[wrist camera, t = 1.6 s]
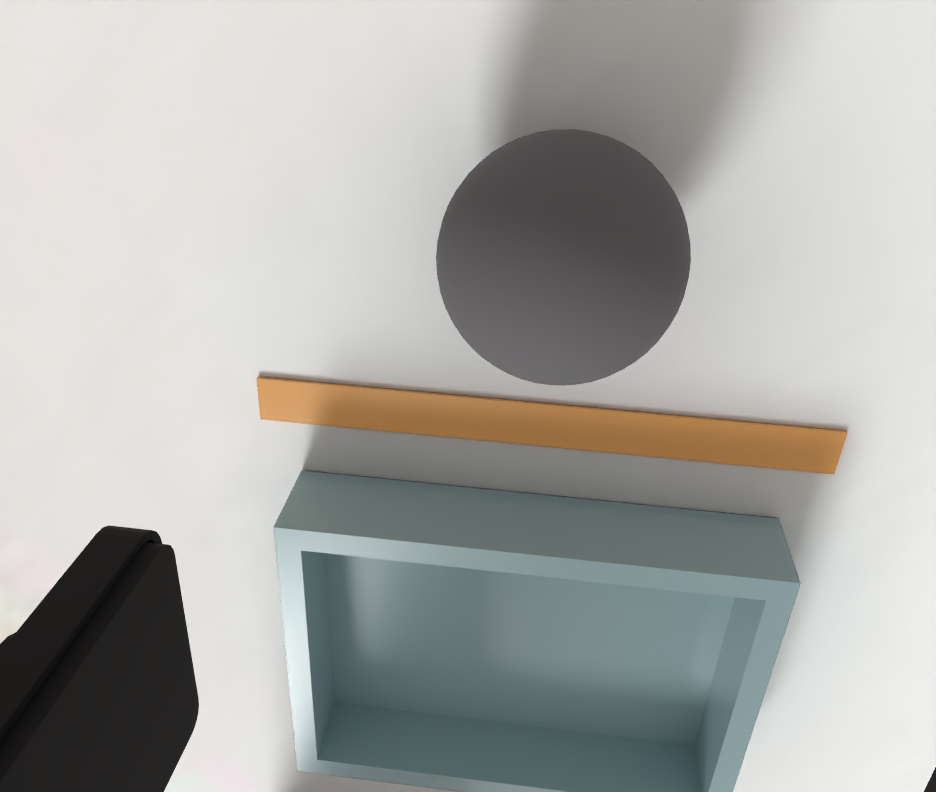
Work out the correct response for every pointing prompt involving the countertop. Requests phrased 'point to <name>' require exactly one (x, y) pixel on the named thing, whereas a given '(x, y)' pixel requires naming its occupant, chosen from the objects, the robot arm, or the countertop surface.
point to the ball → (563, 257)
